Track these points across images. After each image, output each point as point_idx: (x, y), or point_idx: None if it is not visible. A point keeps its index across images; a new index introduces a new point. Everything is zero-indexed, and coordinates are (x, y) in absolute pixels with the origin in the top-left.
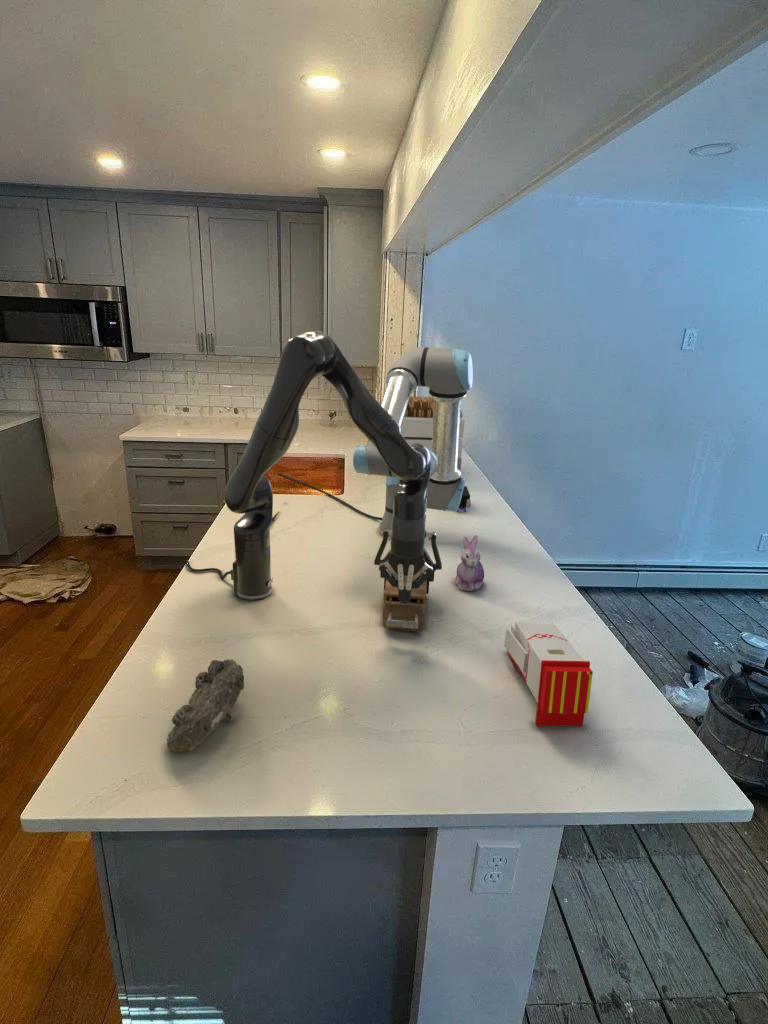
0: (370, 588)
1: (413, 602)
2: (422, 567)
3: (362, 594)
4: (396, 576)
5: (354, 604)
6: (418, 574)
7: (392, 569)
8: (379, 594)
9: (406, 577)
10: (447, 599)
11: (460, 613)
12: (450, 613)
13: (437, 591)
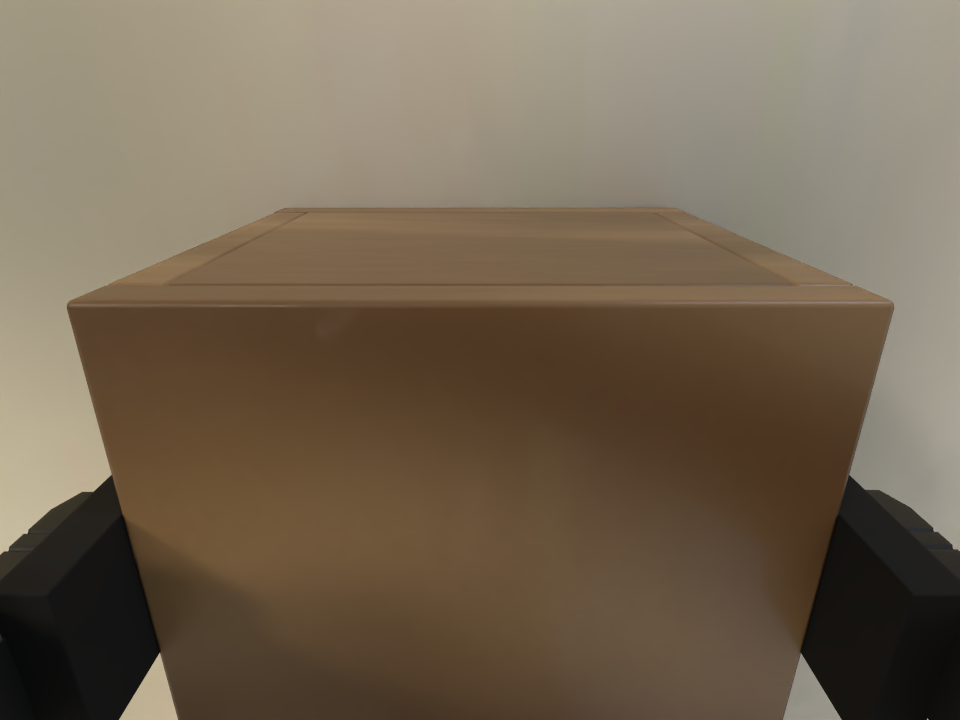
0: (71, 110)
1: None
2: (791, 318)
3: (42, 264)
4: (317, 697)
5: (48, 451)
6: (672, 600)
7: (194, 499)
8: (206, 235)
9: (474, 703)
10: (904, 226)
11: (948, 457)
12: (861, 468)
13: (838, 47)
